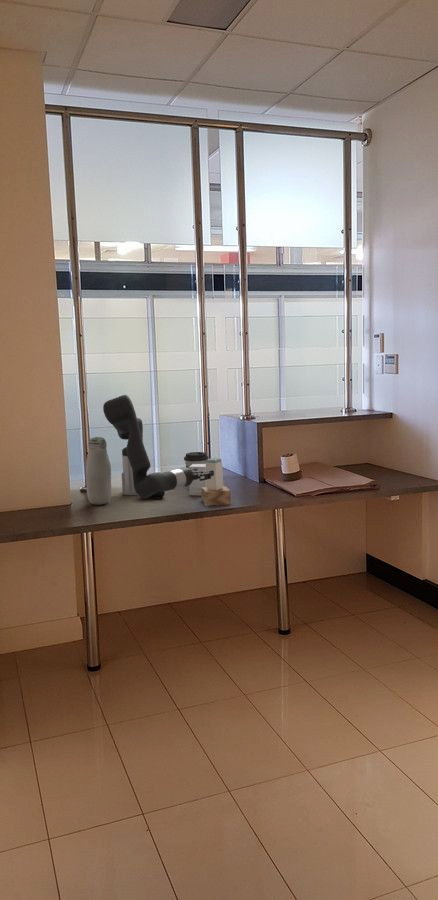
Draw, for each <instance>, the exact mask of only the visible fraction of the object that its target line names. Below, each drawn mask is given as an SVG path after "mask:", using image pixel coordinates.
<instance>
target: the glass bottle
mask: <svg viewBox="0 0 438 900" xmlns="http://www.w3.org/2000/svg"><path fill="white" fill-rule="evenodd" d="M87 445H88V451H87V458H86V463H85V466H84V467H85V482H86V483H85V485H86V486H85V487H86V495H87V499H88V501H89V503H91V504H92V505H96V506H98V505H99V506H100V505H105V504H107V503H109V502H110V500H111V499H112V466H111V461H110V458H109V454H108V450H107V441H106V438H104V437H102V436H100V437H99V436H94V437H92V438H90V439H89V440H88V444H87Z"/></svg>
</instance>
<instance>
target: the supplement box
mask: <svg viewBox="0 0 438 900" xmlns="http://www.w3.org/2000/svg"><path fill="white" fill-rule="evenodd" d="M195 468H196V469H197V471H203V472H206V464H192V465H191V466H190V467H189V469H190V470H191V469H195ZM199 476H200V473H199ZM201 487H207V482H206V480H203V481H200V480H196V481H192V483H191V485H189V486H188V488H189V490H188V491H189V492H188V493H189V496H201V497H202V491H201Z"/></svg>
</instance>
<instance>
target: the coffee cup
mask: <svg viewBox="0 0 438 900" xmlns="http://www.w3.org/2000/svg"><path fill="white" fill-rule="evenodd" d="M208 459H209V456H208V455H207V453H206V452H205V451H204V452H203V451H202V452H201V451H191V452H187V453H186V454H185V456H184V457H183V460H184V463H185V467H186V468H188V469H189V467H190V466H191V465H192V464H206V460H208Z"/></svg>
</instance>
